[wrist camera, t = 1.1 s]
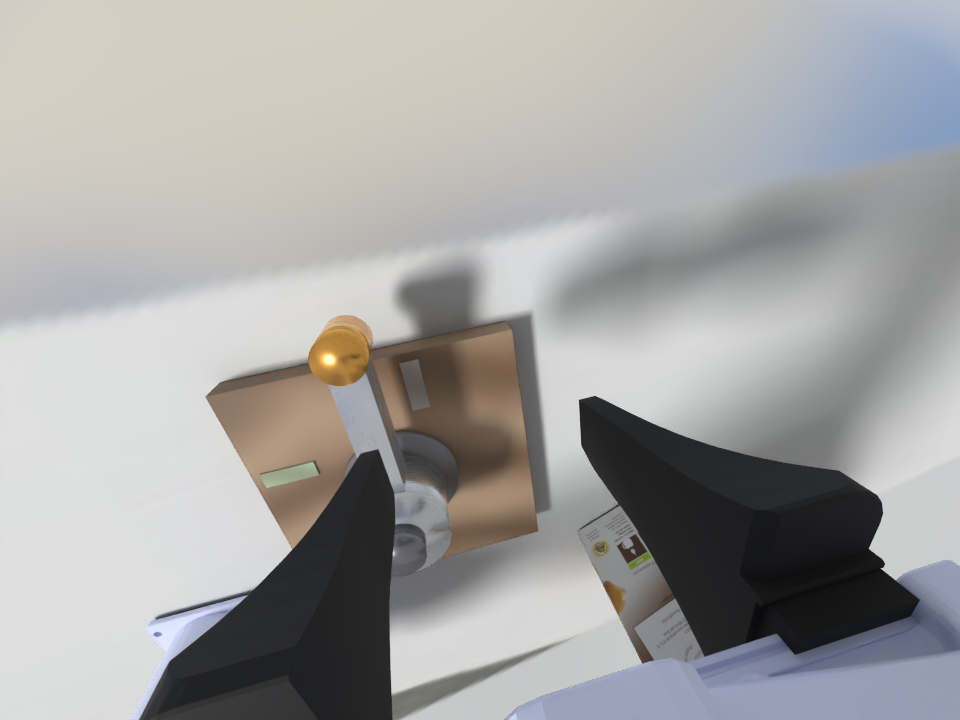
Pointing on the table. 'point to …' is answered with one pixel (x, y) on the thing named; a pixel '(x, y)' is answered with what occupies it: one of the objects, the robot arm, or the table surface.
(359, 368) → the gold-capped lever
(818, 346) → the table surface
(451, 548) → the coupling base
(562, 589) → the table surface
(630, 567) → the coffee box
